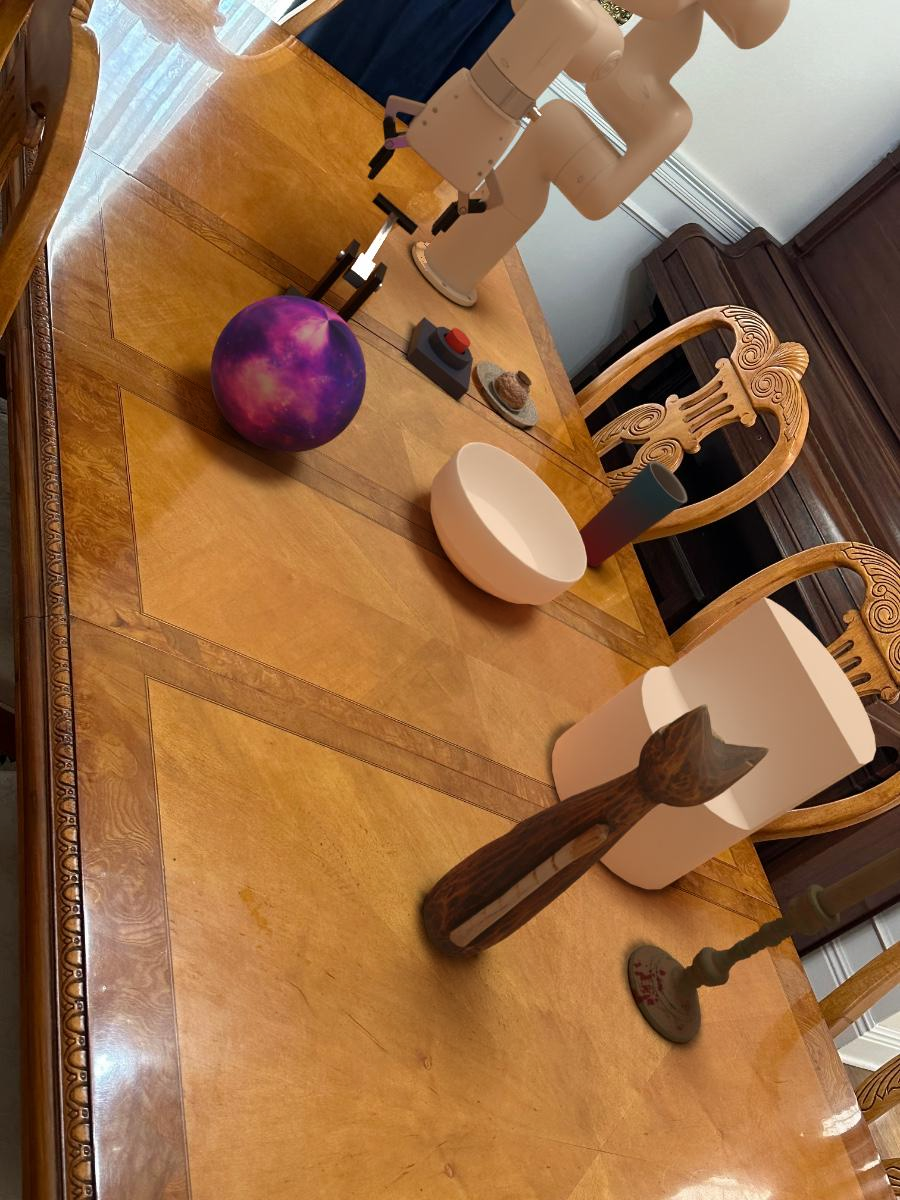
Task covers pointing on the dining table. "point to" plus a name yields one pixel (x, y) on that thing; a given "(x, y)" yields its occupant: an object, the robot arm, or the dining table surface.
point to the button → (457, 340)
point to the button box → (440, 358)
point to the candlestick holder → (742, 950)
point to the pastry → (508, 393)
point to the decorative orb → (288, 374)
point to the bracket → (335, 272)
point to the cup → (632, 512)
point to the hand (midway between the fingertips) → (402, 203)
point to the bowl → (505, 527)
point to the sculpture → (577, 835)
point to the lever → (377, 241)
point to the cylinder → (724, 738)
